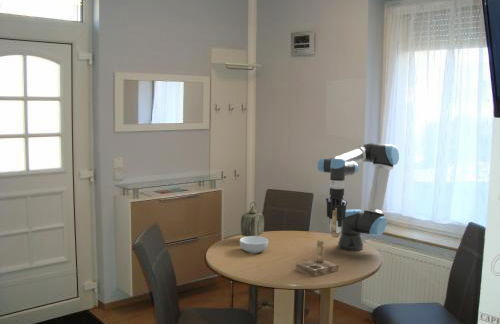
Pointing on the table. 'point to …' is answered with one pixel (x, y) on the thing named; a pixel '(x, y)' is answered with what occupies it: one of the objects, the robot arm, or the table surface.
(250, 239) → the cereal bowl
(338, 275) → the table surface
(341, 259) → the table surface
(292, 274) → the table surface
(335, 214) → the leg peg
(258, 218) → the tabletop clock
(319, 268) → the wooden base block
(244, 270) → the table surface
